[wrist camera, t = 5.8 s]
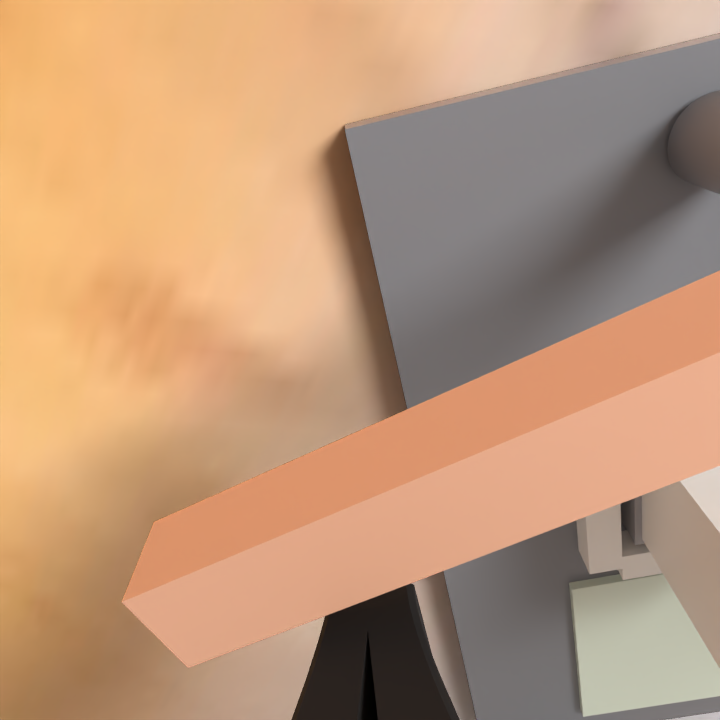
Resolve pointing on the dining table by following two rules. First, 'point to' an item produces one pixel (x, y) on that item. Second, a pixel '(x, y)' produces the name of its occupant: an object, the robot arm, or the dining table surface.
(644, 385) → the retention clip
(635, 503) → the plug
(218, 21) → the dining table surface
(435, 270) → the fixture base plate
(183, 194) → the dining table surface
